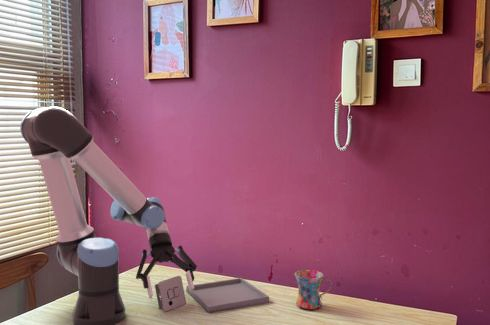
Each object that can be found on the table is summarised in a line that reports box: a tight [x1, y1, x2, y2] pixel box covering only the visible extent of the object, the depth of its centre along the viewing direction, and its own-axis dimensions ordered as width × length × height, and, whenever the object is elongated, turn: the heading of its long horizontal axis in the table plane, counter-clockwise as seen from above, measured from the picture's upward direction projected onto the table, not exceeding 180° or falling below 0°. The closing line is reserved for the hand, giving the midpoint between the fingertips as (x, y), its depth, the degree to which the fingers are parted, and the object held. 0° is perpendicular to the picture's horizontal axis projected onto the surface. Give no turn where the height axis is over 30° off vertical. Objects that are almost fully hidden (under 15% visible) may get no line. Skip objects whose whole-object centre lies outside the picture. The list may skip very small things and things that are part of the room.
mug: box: [294, 269, 333, 310], centre depth 147 cm, size 12×9×11 cm
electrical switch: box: [154, 275, 187, 312], centre depth 147 cm, size 9×5×9 cm, turn 141°
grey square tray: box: [185, 277, 270, 314], centre depth 155 cm, size 22×22×2 cm
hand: (172, 293), depth 144 cm, fingers open, 13 cm apart
